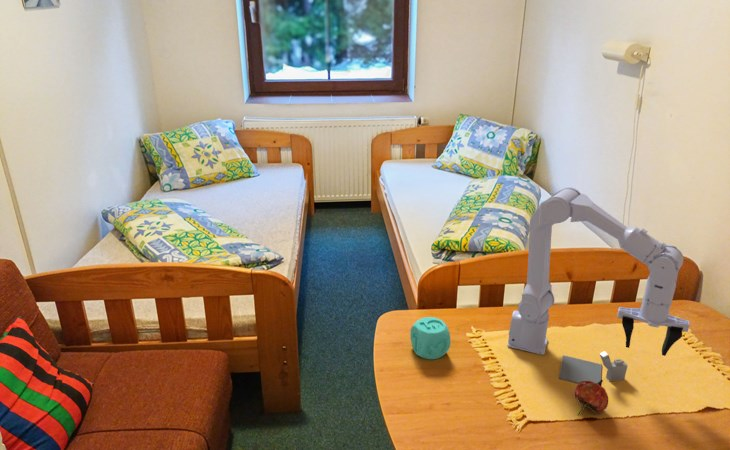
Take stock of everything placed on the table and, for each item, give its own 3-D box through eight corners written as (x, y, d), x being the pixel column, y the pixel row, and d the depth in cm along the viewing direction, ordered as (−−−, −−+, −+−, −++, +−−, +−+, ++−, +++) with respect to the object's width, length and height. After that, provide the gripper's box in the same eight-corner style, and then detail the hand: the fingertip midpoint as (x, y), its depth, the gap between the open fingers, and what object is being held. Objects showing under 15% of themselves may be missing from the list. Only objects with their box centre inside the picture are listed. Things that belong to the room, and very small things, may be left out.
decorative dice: (409, 344, 149) (410, 319, 146) (436, 339, 151) (438, 314, 148) (421, 362, 142) (422, 335, 139) (449, 356, 144) (451, 330, 141)
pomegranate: (595, 432, 123) (624, 398, 124) (582, 415, 119) (611, 381, 120) (570, 413, 129) (598, 382, 130) (557, 397, 126) (585, 365, 127)
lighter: (620, 375, 138) (626, 348, 134) (624, 379, 136) (631, 352, 133) (594, 378, 136) (599, 351, 133) (598, 382, 135) (603, 355, 132)
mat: (558, 378, 136) (558, 377, 136) (562, 356, 145) (562, 355, 144) (599, 388, 133) (600, 387, 133) (601, 365, 141) (601, 364, 141)
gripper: (622, 300, 124) (611, 351, 129) (696, 314, 119) (681, 366, 124) (622, 286, 130) (612, 335, 135) (692, 299, 125) (678, 349, 130)
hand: (645, 349), depth 130 cm, fingers open, 7 cm apart
